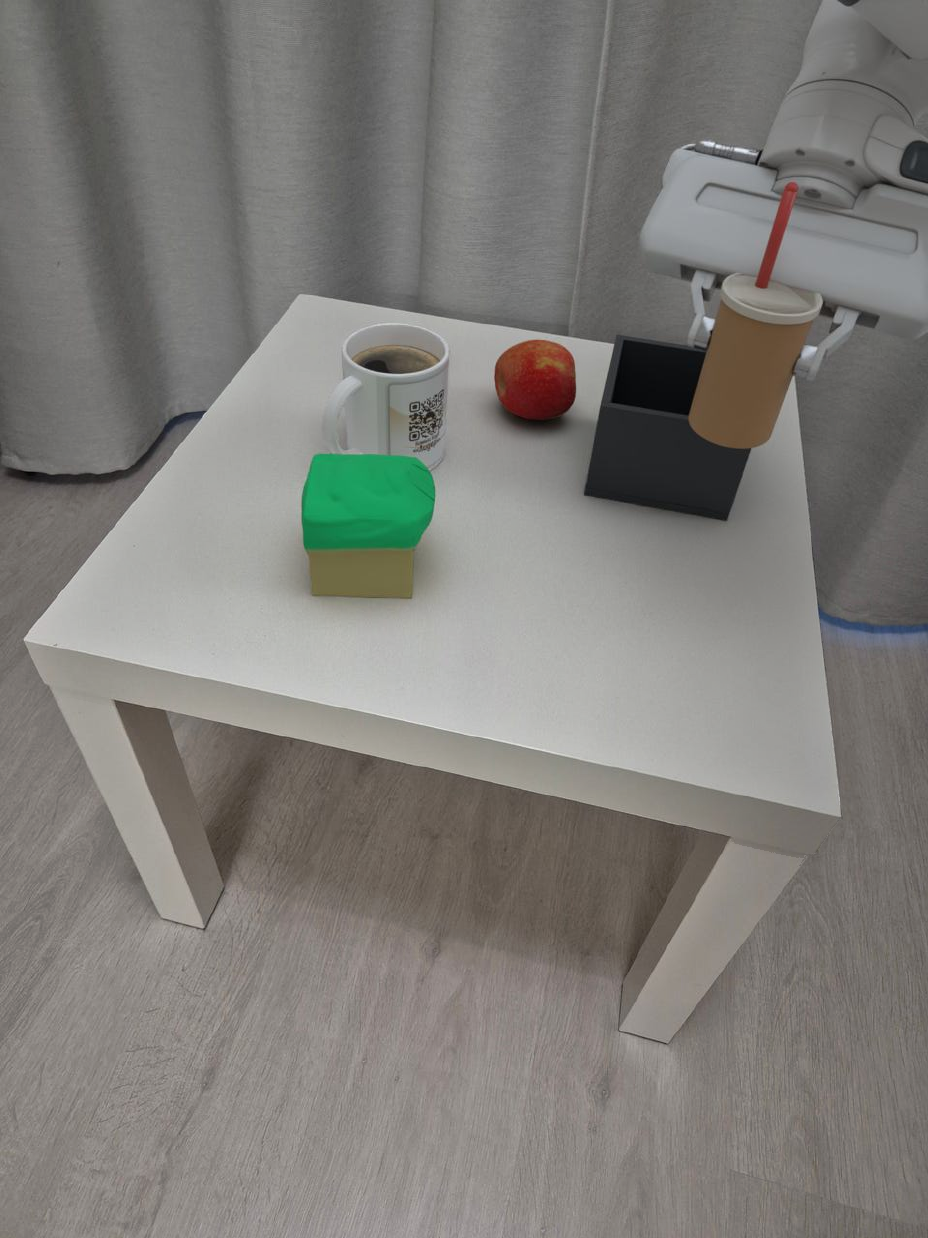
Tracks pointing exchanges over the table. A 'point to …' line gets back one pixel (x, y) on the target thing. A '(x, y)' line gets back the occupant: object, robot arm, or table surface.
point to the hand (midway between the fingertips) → (749, 361)
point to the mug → (392, 393)
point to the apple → (536, 379)
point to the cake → (365, 523)
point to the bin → (659, 435)
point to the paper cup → (753, 349)
